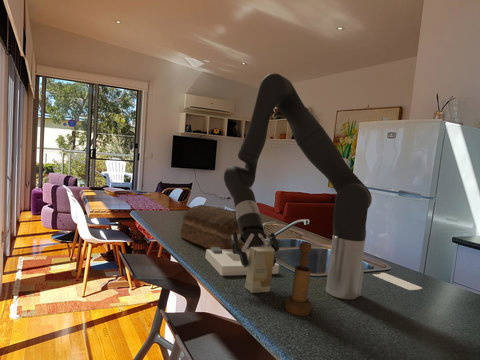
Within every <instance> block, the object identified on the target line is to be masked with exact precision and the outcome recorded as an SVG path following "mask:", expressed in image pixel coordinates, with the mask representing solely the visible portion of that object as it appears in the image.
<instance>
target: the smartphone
mask: <svg viewBox="0 0 480 360" xmlns="http://www.w3.org/2000/svg"><path fill="white" fill-rule="evenodd" d="M371 276H372V277H374V278H377V279H378V280H379V279H380V280H382V281H385V282H387V283H389V284H392V285H395V286H397V287H400V288H403V289H405V290H408V291H409V292H412V291H413V292H416V291H421V290H424V287H423V286H420V285H417V284H414V283H412V282H409V281H407V280H404V279H402V278H399V277H397V276H395V275H391V274H389V273H386V272H383V271H382V272H377V273H371Z"/></svg>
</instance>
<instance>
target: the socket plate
mask: <svg viewBox="0 0 480 360" xmlns="http://www.w3.org/2000/svg"><path fill="white" fill-rule="evenodd" d="M249 252H250V248H249V249H246V251H245V253H246V254H247V258H248V260H249ZM204 258H205V259H206V260H207V262H209V264H210V265H211V266H212V267H213V268H214V269H215V270H216V271H217V272H218V274H219V275H220V276H221V277H224V276H246V275H247V268H248V266H247V267H244V266H243V265H242V264H241V259H240V255H239V254H233V251H232V249H222V250H221V249H220V248H219V247H211V250H209V249H206V250H205V256H204ZM279 267H280V264H279V263H277V262H276V263H275V265H274V266H273V270H272V275H275V274H276V275H278V274H279Z"/></svg>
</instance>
